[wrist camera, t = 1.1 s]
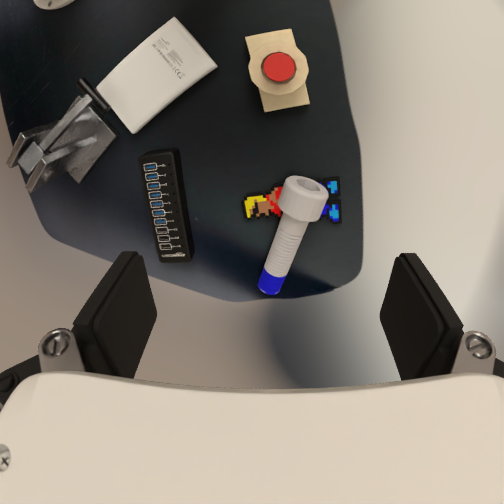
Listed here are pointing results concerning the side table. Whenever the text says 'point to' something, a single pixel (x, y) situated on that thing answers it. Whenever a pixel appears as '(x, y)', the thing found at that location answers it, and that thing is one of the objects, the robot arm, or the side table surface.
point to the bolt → (291, 228)
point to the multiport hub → (167, 205)
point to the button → (279, 67)
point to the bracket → (67, 147)
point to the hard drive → (155, 74)
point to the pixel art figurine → (268, 202)
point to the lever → (63, 125)
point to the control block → (272, 91)
